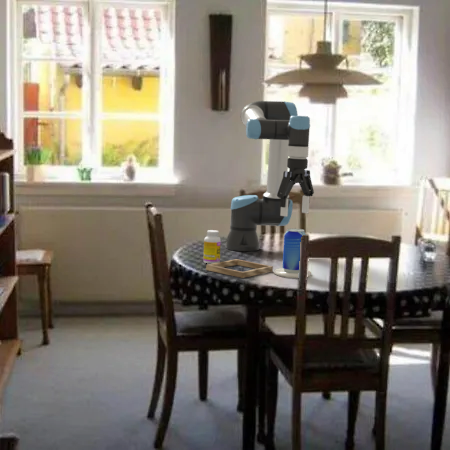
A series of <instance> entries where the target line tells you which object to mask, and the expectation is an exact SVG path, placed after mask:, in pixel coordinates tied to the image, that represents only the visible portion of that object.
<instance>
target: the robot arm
mask: <svg viewBox="0 0 450 450" xmlns="http://www.w3.org/2000/svg"><path fill="white" fill-rule="evenodd" d="M310 119H311V118H310V117H309V116H306V115H298V109H297V106H296V104H295V103H294V102H289V101H282V100H281V101H278V100H276V101H275V100H274V101H271V100H270V101H269V100H266V101H265V100H258V101H253V102H251V103H248V104H246V105H245V106H244V107H243V108H242V110H241V112H240V121H241V122H242V123H243V125H244V126H245V135H246V138H247V139H250V140H253V139H254V140H269V141H268V142H269V147H268V158H267V159H268V161H267V162H268V163H267V180H266V191H265V192H264V193H263V194H262V198H259V196H258V195H256V194H248V195H240V196H239V195H238V196H235V197H233V198H232V199H231V203H230V223H229V224H230V225H229V233H228V235H227V239H226V241H225V249H227V250H231V251H238V252H255V251H259V250H260V246H261V244H260V240H259V237H258V232H257V228H258V227H257V226H271V227H275V226H276V227H279V226H280V227H283V226H284V227H285V226H287V225H288V224H289V223H290V220H291V218H292V214H293V205H294V204H293V200H292V199H290V193H291V191H292V190H293V187H294V185H296V184H298V185H299V186H300V189H301V191H302V193H303V195H302V199H301V200H302V203H301V214H309V213H310V202H311V201H310V199H311V197H313V196H314V193H315V191H314V187H313V182H312V178H311V171H310V169H309V170H308V162H309V159H308V157H309V149H310V147H309V144H310V143H309V141H310V129H311V128H310V127H311V122H310V121H311V120H310ZM288 169H289V171H288Z"/></svg>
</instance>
